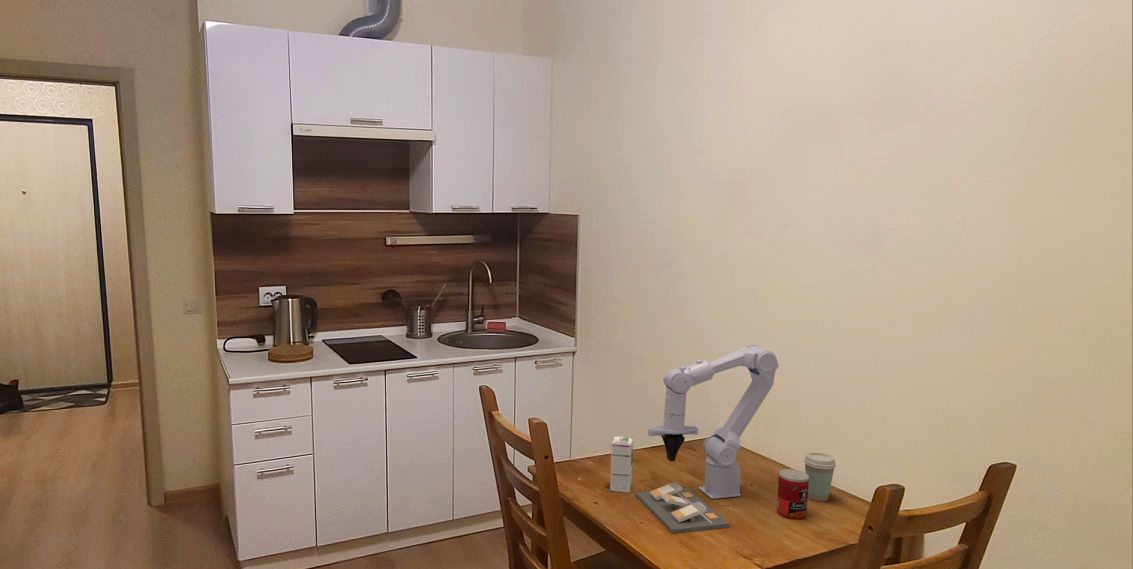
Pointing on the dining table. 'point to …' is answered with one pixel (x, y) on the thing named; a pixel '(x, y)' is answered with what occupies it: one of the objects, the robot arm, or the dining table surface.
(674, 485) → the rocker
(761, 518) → the dining table surface
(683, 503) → the rocker
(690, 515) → the rocker
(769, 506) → the dining table surface
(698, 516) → the switch unit
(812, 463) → the coffee cup
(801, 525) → the dining table surface
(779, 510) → the canned food
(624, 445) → the syrup box
